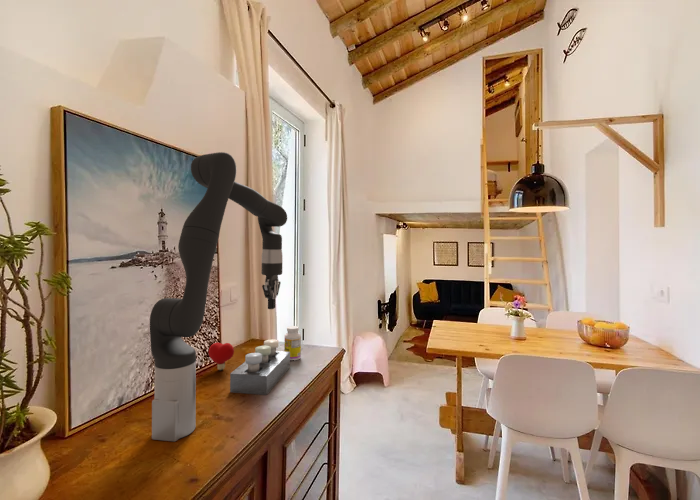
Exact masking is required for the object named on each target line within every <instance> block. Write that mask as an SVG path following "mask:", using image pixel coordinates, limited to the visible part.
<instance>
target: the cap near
mask: <svg viewBox="0 0 700 500" xmlns="http://www.w3.org/2000/svg"><path fill="white" fill-rule="evenodd" d="M244 362H245V363H247V364H248V372H250V373H255V372H258V371H259V363H261V362H262V354H261V353H255V352H251V353H247V354H245V361H244Z"/></svg>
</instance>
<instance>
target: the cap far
mask: <svg viewBox="0 0 700 500" xmlns="http://www.w3.org/2000/svg"><path fill="white" fill-rule="evenodd" d="M263 346H270V347H271V354H270V355H268V356H275V355H276V351H277V348H279V340H277V339H275V338H274V339H266V340H264V341H263Z"/></svg>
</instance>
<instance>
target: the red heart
mask: <svg viewBox="0 0 700 500" xmlns="http://www.w3.org/2000/svg"><path fill="white" fill-rule="evenodd" d="M208 348H209V349H208V356H209V358H210V359H211V360H212V361H213V362H214V363H216V364H217V367H216V368H217V370H219V371H223V370H224V369H225V368H226V362H227V361H229V360H231V358H233V357H234V353H235V349H234V346H233V345H232V344H231V343H229V342H225V343H221V342H214V343H212V344H211V345H210V346H209V347H208Z"/></svg>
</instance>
